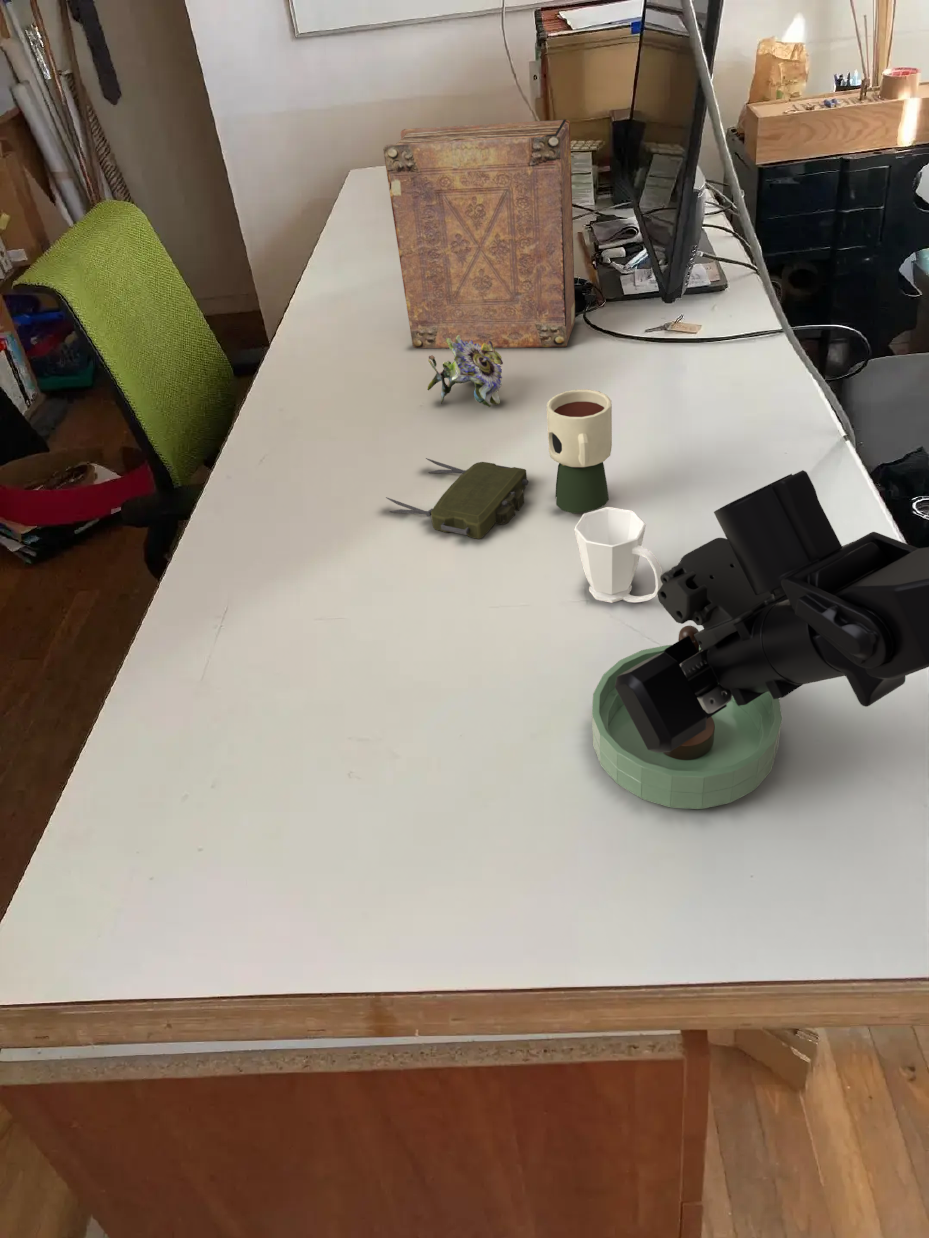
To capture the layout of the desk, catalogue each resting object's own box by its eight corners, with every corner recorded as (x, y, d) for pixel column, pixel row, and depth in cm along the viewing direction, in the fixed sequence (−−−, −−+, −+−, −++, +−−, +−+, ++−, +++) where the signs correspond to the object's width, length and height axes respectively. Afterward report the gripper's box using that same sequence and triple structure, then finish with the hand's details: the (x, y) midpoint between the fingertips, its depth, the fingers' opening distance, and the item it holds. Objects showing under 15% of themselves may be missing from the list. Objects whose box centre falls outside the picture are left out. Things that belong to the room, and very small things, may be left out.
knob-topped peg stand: (720, 725, 80) (730, 615, 72) (704, 767, 77) (713, 655, 69) (663, 711, 82) (667, 602, 74) (645, 751, 79) (648, 640, 71)
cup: (607, 561, 101) (606, 498, 96) (681, 599, 95) (685, 534, 89) (562, 591, 97) (559, 528, 92) (636, 633, 91) (637, 567, 86)
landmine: (487, 526, 103) (375, 503, 110) (490, 546, 105) (379, 521, 112) (540, 464, 113) (434, 445, 119) (542, 483, 114) (437, 463, 121)
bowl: (792, 705, 82) (798, 667, 79) (751, 836, 72) (756, 799, 69) (626, 665, 88) (626, 629, 85) (567, 781, 78) (565, 745, 75)
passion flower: (496, 437, 135) (503, 397, 124) (422, 429, 135) (421, 389, 124) (502, 368, 138) (509, 322, 127) (429, 361, 138) (430, 314, 127)
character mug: (548, 482, 114) (543, 384, 106) (606, 476, 114) (605, 378, 106) (555, 532, 106) (549, 430, 98) (618, 526, 105) (617, 424, 97)
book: (411, 348, 150) (381, 146, 131) (426, 325, 157) (399, 129, 137) (567, 347, 144) (559, 135, 125) (576, 323, 150) (569, 118, 131)
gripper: (835, 483, 66) (710, 543, 80) (634, 591, 59) (538, 636, 73) (910, 623, 65) (772, 658, 80) (717, 748, 58) (604, 762, 73)
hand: (674, 674), depth 76 cm, fingers closed on knob-topped peg stand, 2 cm apart
